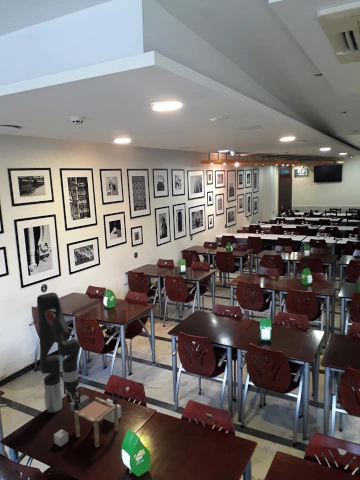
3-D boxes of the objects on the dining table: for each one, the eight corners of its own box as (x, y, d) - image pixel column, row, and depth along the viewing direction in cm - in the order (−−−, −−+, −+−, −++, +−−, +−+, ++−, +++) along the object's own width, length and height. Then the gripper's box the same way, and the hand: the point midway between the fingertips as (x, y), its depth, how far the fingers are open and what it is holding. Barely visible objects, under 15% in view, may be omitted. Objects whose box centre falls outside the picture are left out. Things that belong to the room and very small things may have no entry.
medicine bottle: (112, 412, 215) (111, 393, 213) (121, 416, 211) (120, 397, 209) (103, 419, 209) (102, 399, 207) (112, 423, 205) (111, 403, 203)
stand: (76, 436, 195) (74, 411, 193) (98, 420, 208) (96, 396, 206) (97, 447, 186) (95, 421, 184) (118, 430, 199) (117, 405, 197)
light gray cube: (54, 443, 190) (53, 434, 189) (62, 437, 194) (61, 429, 193) (60, 446, 187) (60, 438, 187) (68, 441, 191) (67, 432, 191)
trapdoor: (68, 411, 199) (68, 404, 198) (85, 400, 209) (85, 393, 208) (94, 423, 188) (94, 416, 187) (110, 411, 198) (110, 404, 197)
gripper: (57, 374, 190) (60, 403, 193) (70, 385, 180) (72, 415, 182) (71, 369, 195) (73, 397, 198) (83, 380, 185) (85, 409, 187)
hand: (72, 406), depth 190 cm, fingers open, 8 cm apart
